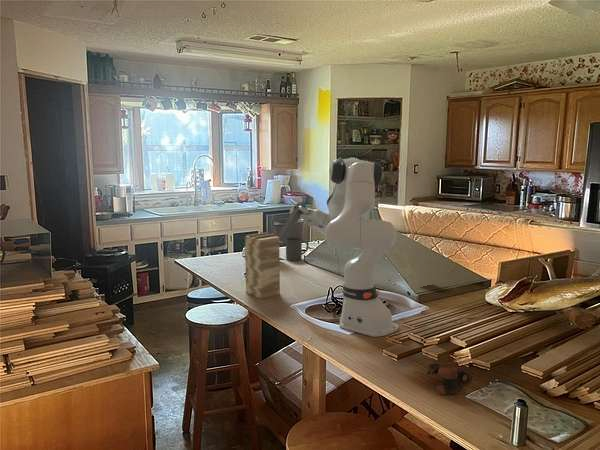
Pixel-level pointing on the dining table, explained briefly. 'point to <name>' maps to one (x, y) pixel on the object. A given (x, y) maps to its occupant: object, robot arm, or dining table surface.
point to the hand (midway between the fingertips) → (296, 207)
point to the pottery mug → (450, 377)
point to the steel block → (290, 223)
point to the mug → (294, 249)
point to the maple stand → (262, 265)
